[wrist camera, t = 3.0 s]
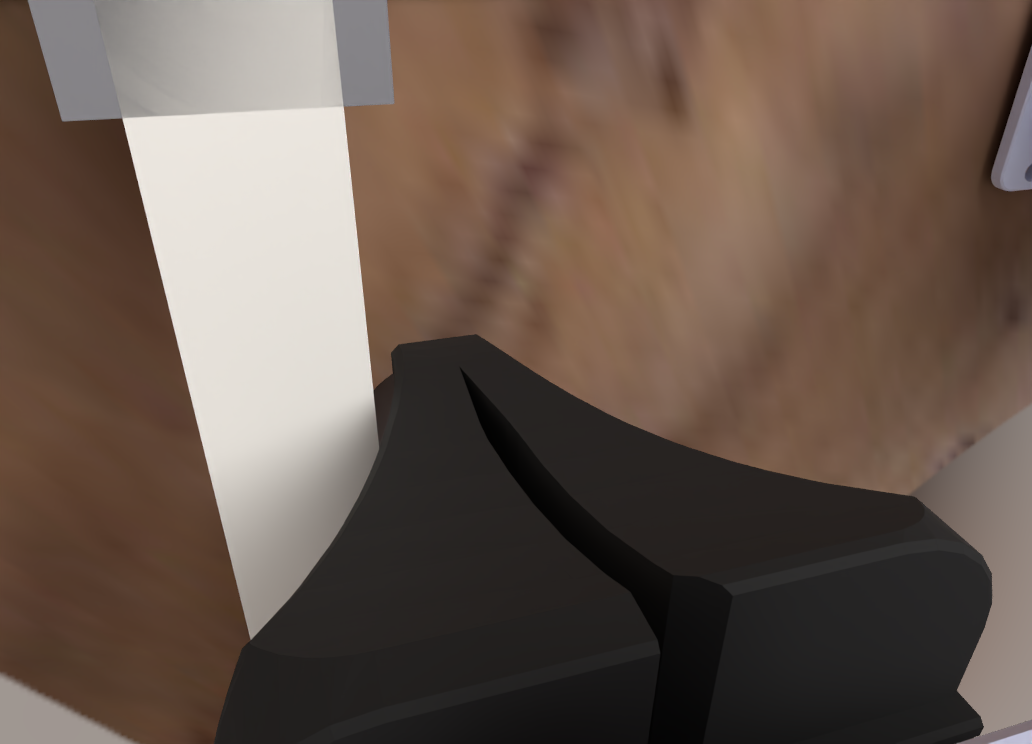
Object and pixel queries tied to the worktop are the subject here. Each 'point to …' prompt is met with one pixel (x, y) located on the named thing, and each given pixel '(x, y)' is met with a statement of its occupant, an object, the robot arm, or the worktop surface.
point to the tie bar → (249, 241)
